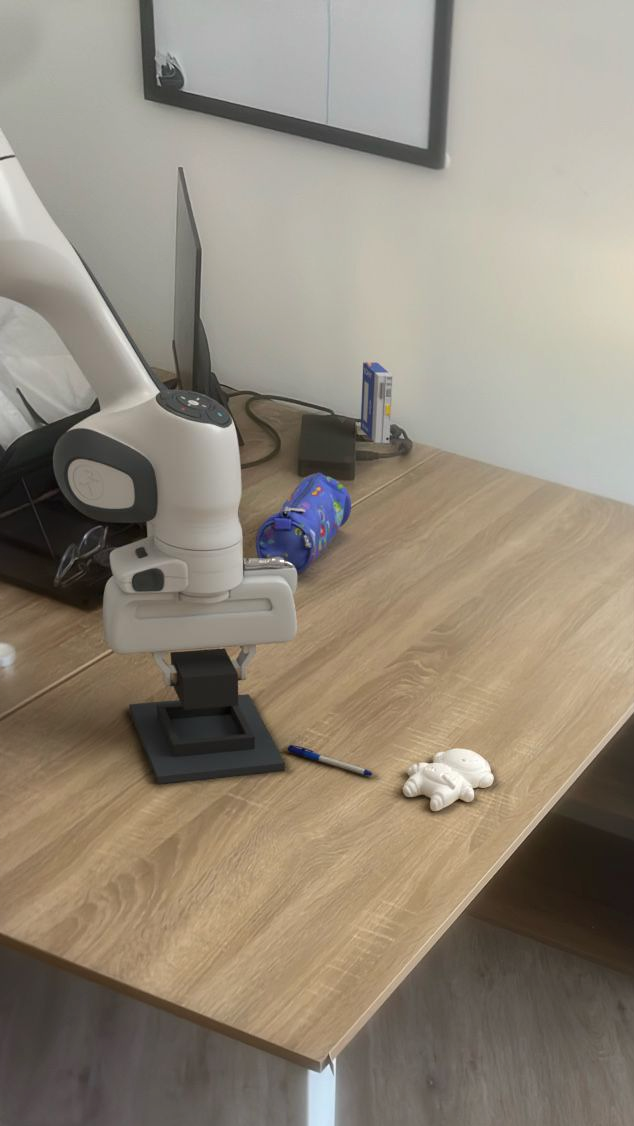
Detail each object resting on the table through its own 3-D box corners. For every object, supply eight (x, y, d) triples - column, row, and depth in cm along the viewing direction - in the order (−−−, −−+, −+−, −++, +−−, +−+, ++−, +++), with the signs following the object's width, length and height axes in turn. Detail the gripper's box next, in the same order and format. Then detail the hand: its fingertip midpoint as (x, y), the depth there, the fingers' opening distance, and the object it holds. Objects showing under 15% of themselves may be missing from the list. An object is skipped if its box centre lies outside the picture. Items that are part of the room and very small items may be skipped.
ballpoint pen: (285, 753, 146) (285, 745, 145) (289, 749, 146) (289, 742, 146) (370, 777, 144) (370, 770, 143) (373, 774, 145) (373, 766, 144)
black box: (183, 710, 139) (182, 677, 136) (172, 684, 143) (170, 651, 140) (238, 705, 141) (237, 673, 139) (225, 680, 145) (224, 647, 143)
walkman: (360, 428, 236) (363, 360, 228) (374, 428, 237) (377, 360, 229) (375, 443, 231) (378, 374, 223) (389, 443, 232) (393, 374, 224)
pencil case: (310, 587, 181) (311, 521, 174) (251, 575, 181) (250, 509, 175) (352, 532, 198) (354, 470, 192) (298, 522, 198) (299, 460, 192)
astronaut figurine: (384, 786, 143) (385, 763, 141) (453, 751, 151) (455, 729, 149) (442, 819, 140) (445, 796, 138) (510, 781, 148) (513, 759, 146)
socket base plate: (157, 784, 137) (156, 763, 136) (129, 711, 148) (128, 691, 146) (284, 770, 143) (285, 750, 141) (248, 701, 154) (248, 681, 152)
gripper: (289, 544, 138) (288, 660, 147) (93, 552, 130) (105, 675, 139) (305, 568, 134) (304, 686, 143) (104, 578, 126) (115, 703, 135)
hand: (204, 681), depth 141 cm, fingers closed on black box, 6 cm apart
